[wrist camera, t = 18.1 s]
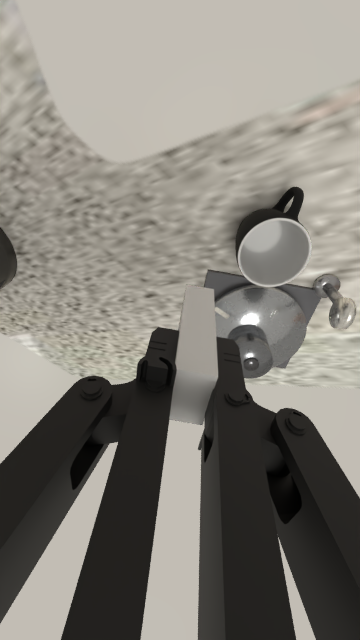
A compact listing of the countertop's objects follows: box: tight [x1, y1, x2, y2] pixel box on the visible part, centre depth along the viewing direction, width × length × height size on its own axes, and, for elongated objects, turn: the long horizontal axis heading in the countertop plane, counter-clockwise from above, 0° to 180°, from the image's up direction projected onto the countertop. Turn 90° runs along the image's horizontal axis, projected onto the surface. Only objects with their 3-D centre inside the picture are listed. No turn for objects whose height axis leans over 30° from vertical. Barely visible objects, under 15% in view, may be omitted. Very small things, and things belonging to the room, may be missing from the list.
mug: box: [236, 187, 312, 287], centre depth 37 cm, size 12×9×10 cm
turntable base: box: [204, 270, 321, 368], centre depth 50 cm, size 20×18×2 cm
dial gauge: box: [313, 274, 356, 329], centre depth 41 cm, size 4×4×12 cm
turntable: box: [215, 285, 307, 368], centre depth 47 cm, size 18×18×6 cm
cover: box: [227, 324, 273, 378], centre depth 46 cm, size 7×7×7 cm
